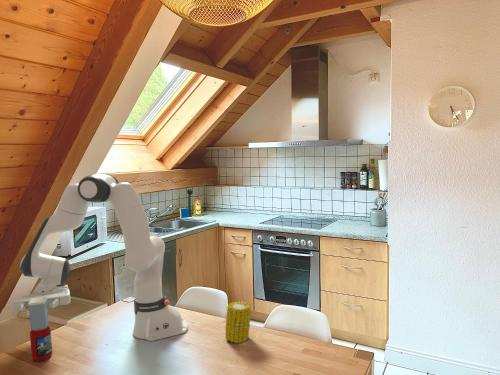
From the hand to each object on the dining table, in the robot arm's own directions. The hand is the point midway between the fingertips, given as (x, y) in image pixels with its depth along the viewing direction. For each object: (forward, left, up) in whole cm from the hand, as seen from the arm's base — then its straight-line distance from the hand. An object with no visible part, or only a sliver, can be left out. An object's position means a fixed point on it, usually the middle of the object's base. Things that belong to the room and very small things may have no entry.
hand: (37, 308), depth 146 cm
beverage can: (0, -1, -19) cm, 20 cm away
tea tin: (0, -1, -7) cm, 7 cm away
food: (-73, +10, -19) cm, 76 cm away
